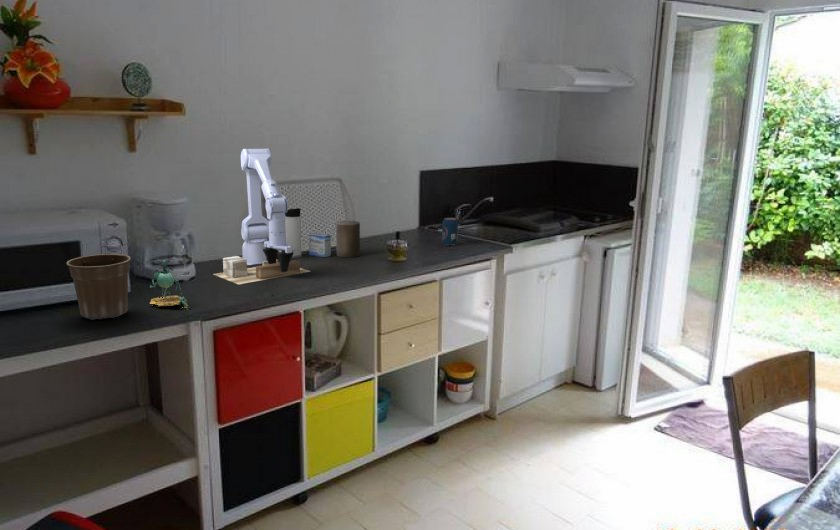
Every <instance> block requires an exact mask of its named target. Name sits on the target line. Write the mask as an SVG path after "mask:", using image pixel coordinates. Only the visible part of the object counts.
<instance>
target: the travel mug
mask: <svg viewBox="0 0 840 530" xmlns="http://www.w3.org/2000/svg"><path fill="white" fill-rule="evenodd" d="M301 218H302V216H301V208H300V207H299V208H297V207H296V208H289V209H288V210H287V213H285V225H286V244H287V245H288V246H290V247H292V252H293V256H292V258H291V259H297V258H301V257H302V219H301Z"/></svg>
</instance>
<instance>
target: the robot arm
mask: <svg viewBox="0 0 840 530" xmlns="http://www.w3.org/2000/svg"><path fill="white" fill-rule="evenodd" d="M271 163H272V153H271V150H270V149H269V148H243V149H242V150H241V153H240V167H241V170H242V171H243V172H244V173H245V174H246V188H247V204H248V205H247V206H248V207H247V208H248V215H247V216H246V217H245V218H244V219H243V220H242V221H241V228H240V234H241V239H242V240H243V241H244V242H243V244H242V246H241V253H242V258H245V259H247V266H251V265H262V262H263V261H268V264H275V263H276V259H277V258H278V262H279V263H280V268H281V272H287V271H288V266H289V263H290V261H292V259H293V258H292V256H293V252H292V247H290V246H288V245H287V244H286V225H285V213H287V210H289V209H288V208H289V204H288V200H287V198H286V196H285V195H284V194H282V193H281V190H280V187H279V185H278V182H277V181H276V180H274V179H273V176H272V172H271V168H270V167H271ZM261 183H262V184H261ZM261 190H262V192H261ZM262 194H263V197H264V199H265V205H264V206H265V210H266V211H265V212H266V217H265V216H263V209H262ZM278 251H279V252H278Z"/></svg>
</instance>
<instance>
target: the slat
mask: <svg viewBox="0 0 840 530" xmlns="http://www.w3.org/2000/svg"><path fill="white" fill-rule="evenodd" d="M255 267H256V278H258V279H266V278H272V277H277V276H283V275H288V276H290V275H289V274H294V273H299V274H301V273H300V268H301V261H299V260H296V259H295V260H294V259H293V260H290V263H289V266H288V271H287V272H281V268H280V262H278V263H275V264H269V265H263V266H262V265H256V266H255ZM294 275H295V274H294ZM283 277H284V276H283ZM277 278H278V277H277ZM272 279H273V278H272ZM266 280H267V279H266Z"/></svg>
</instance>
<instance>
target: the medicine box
mask: <svg viewBox="0 0 840 530" xmlns="http://www.w3.org/2000/svg"><path fill="white" fill-rule="evenodd" d="M308 237H309V238H308V240H309V241H308V242H309V243H308V249H309V250H308V251H309V252H308V254H309V256H312V257H319V258H320V257H321V258H326V257H330V256H332V251H331V250H332V242H331V241H332V240H331V239H332V238H331V237H332V235H330V234H323V233H310V234H309V236H308Z"/></svg>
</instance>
